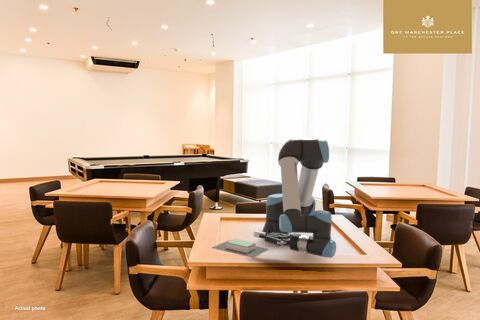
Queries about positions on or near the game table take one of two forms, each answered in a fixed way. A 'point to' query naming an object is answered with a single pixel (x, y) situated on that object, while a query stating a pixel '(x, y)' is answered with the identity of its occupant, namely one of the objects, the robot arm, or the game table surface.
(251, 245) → the tile
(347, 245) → the game table surface
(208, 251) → the game table surface
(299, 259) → the game table surface
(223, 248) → the mat
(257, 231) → the robot arm
